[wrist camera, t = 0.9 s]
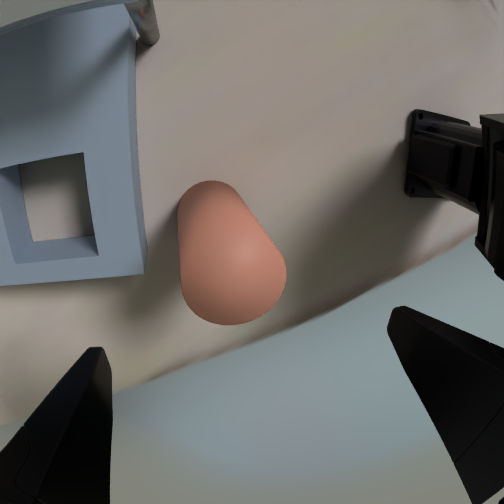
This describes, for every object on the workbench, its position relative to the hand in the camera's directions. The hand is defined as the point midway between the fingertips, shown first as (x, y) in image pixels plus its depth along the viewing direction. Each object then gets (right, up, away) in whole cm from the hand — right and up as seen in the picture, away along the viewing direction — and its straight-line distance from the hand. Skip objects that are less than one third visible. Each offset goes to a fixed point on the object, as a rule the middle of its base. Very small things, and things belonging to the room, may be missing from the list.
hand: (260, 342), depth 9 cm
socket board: (-11, +10, +5) cm, 16 cm away
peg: (-3, +5, +10) cm, 12 cm away
